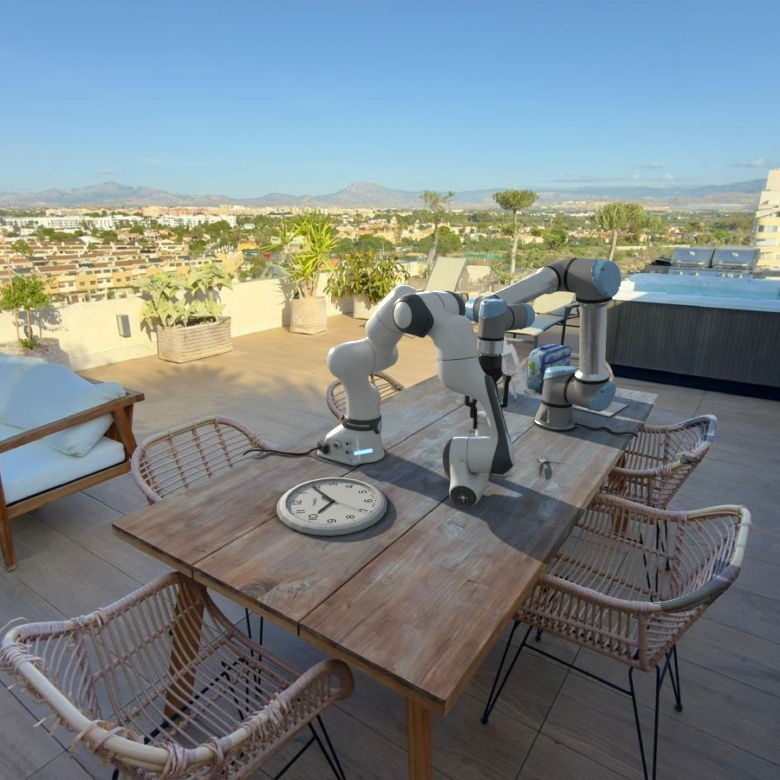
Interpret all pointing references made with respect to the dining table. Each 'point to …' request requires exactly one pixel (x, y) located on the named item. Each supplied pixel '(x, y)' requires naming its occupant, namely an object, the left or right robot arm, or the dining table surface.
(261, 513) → the dining table surface
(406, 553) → the dining table surface
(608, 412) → the invitation card
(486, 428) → the white plastic cylinder
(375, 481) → the dining table surface
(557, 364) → the lunch box
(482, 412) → the lid
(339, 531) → the wall clock
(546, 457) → the fork
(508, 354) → the white plastic object
